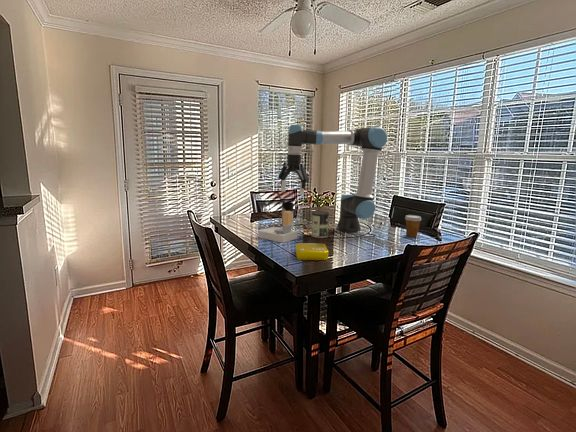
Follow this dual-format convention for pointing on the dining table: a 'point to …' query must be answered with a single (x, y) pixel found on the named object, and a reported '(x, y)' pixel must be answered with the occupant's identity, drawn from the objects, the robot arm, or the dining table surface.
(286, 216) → the plug
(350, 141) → the robot arm
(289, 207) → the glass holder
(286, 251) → the dining table surface
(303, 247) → the element tile
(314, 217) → the coffee can
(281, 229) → the shutter
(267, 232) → the socket plate
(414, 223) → the disposable coffee cup
